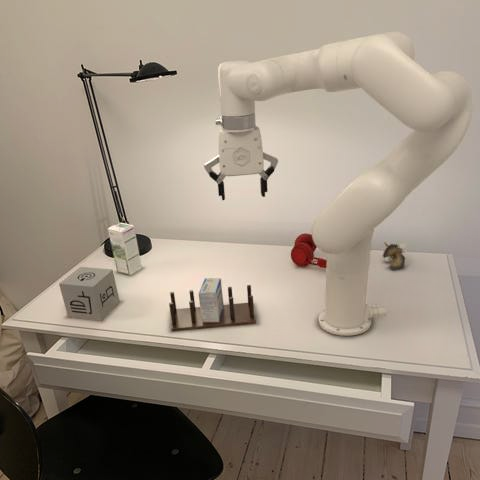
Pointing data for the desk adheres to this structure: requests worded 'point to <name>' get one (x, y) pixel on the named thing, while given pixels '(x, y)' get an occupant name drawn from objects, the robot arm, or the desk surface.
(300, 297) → the desk surface
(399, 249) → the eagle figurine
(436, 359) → the desk surface
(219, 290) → the medicine box
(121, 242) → the syrup box
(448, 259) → the desk surface
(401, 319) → the desk surface
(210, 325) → the plate rack
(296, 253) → the headphones
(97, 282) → the icon cube
